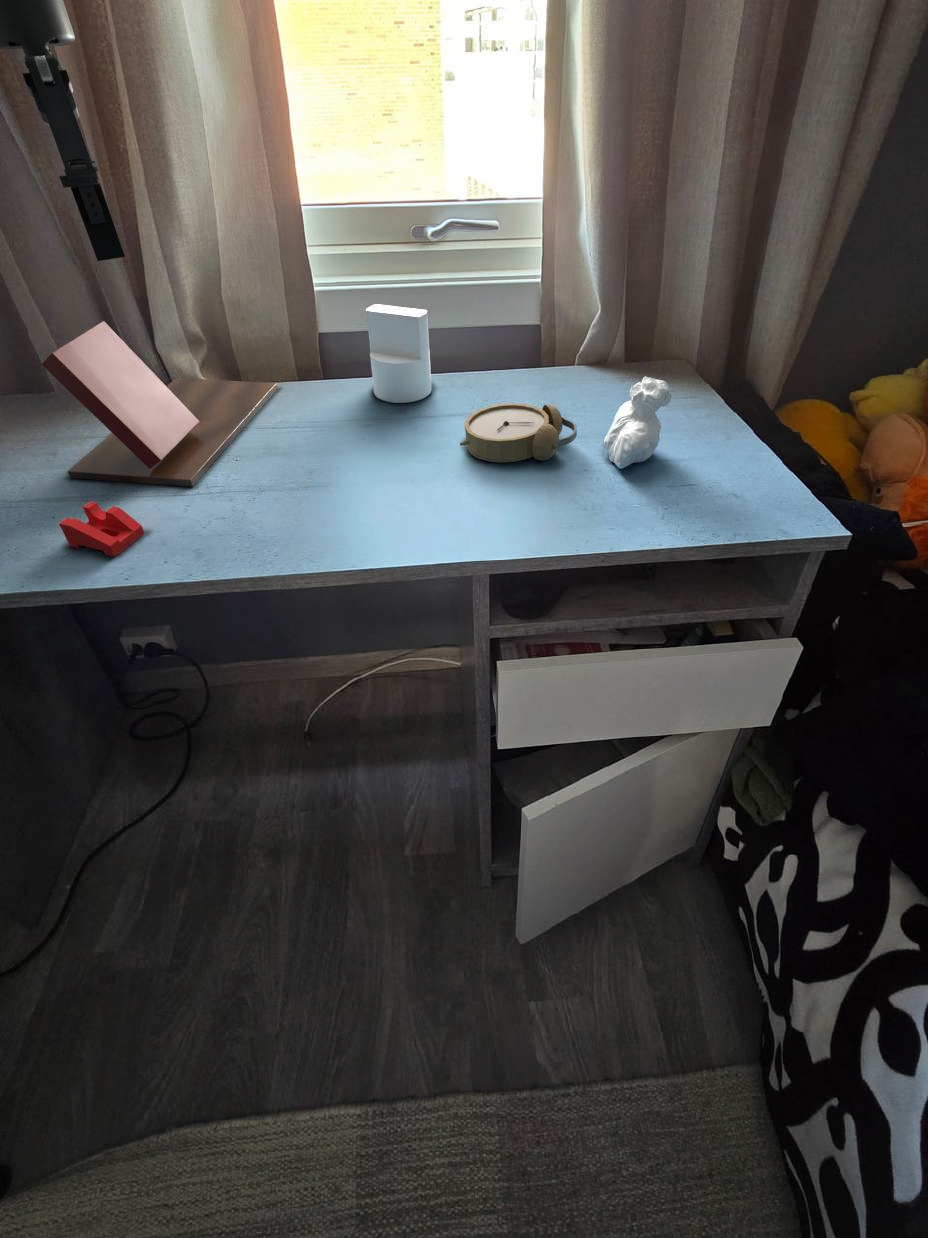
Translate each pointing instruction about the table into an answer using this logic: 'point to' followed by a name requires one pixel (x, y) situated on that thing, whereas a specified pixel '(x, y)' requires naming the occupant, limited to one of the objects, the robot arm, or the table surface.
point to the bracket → (102, 529)
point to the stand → (219, 424)
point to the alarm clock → (516, 432)
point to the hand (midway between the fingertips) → (107, 248)
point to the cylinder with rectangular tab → (399, 353)
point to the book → (122, 393)
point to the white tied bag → (637, 423)
